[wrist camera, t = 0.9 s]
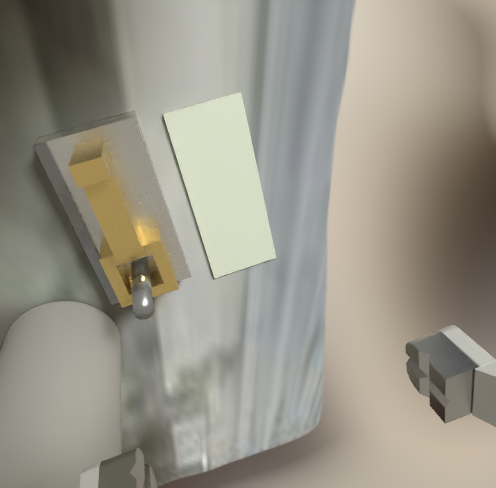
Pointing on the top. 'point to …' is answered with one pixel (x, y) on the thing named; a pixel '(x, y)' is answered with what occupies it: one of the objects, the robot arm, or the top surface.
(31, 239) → the top surface
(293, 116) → the top surface
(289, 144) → the top surface
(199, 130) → the sage mat
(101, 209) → the brass hook
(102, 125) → the toggle switch block
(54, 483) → the cylinder vase
